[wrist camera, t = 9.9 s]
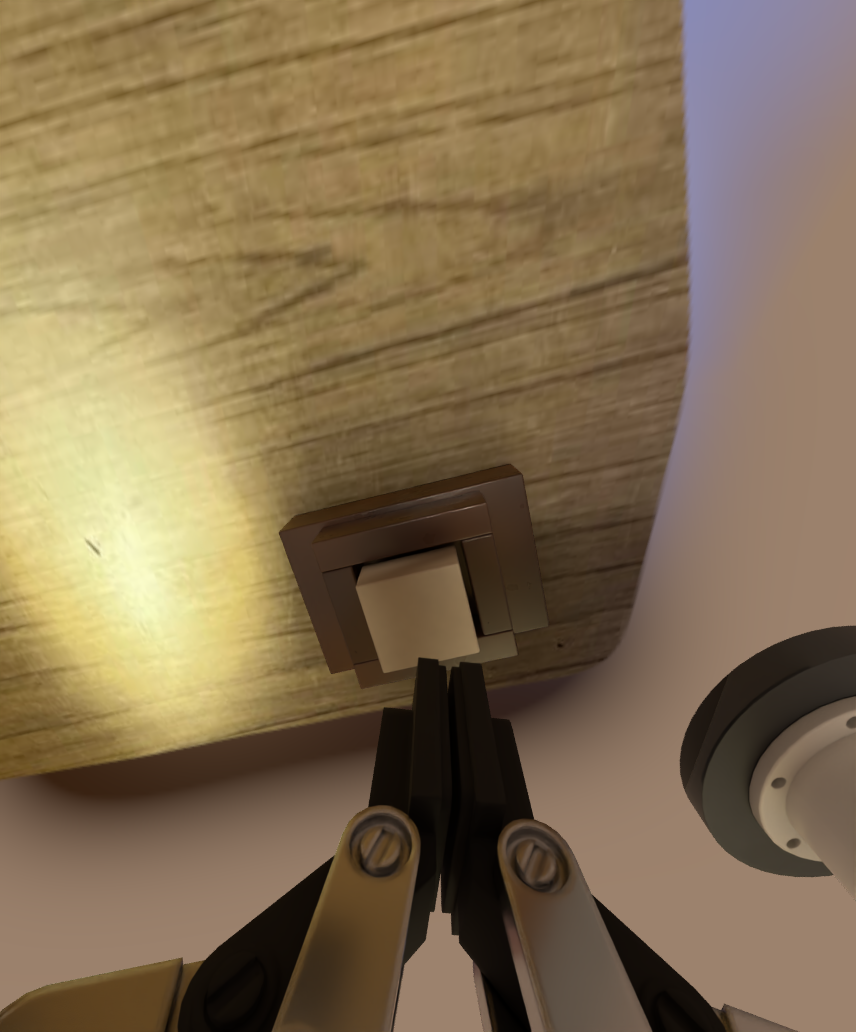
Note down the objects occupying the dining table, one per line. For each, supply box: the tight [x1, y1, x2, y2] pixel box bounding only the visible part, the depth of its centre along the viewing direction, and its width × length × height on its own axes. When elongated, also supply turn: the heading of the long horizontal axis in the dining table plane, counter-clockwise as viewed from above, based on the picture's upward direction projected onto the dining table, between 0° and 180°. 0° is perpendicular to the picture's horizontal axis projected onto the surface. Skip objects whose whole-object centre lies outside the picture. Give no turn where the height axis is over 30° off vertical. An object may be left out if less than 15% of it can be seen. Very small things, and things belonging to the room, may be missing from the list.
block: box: [279, 464, 549, 689], centre depth 18 cm, size 10×7×4 cm
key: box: [356, 545, 480, 673], centre depth 15 cm, size 4×4×2 cm
